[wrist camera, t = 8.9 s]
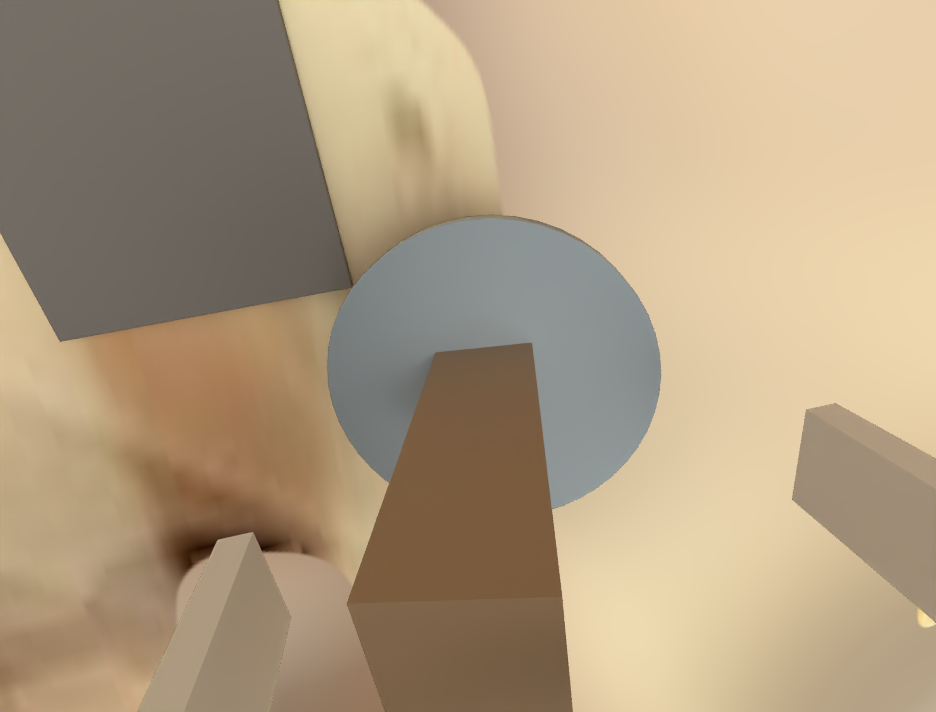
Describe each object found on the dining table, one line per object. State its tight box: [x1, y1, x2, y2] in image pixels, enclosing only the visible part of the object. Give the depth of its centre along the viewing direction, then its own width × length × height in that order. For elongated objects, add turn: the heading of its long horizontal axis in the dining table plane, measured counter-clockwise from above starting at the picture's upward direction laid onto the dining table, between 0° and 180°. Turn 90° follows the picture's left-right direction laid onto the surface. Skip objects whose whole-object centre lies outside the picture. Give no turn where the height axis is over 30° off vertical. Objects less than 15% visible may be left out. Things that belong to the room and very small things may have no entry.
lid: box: [327, 215, 661, 712], centre depth 13 cm, size 12×12×11 cm
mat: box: [0, 0, 353, 342], centre depth 23 cm, size 16×16×1 cm
